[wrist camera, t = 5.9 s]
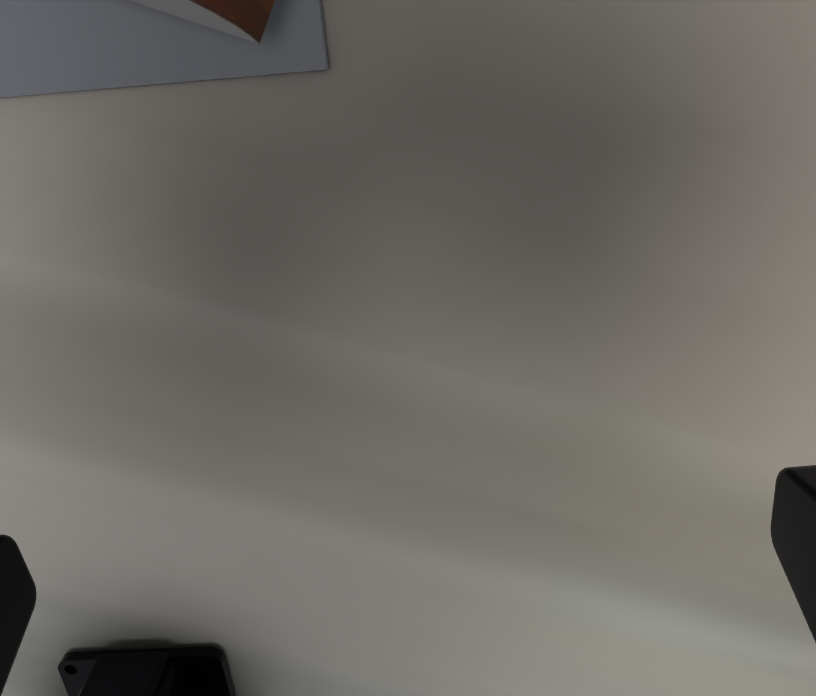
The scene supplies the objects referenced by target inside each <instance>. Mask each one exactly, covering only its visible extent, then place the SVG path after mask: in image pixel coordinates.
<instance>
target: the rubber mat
mask: <svg viewBox="0 0 816 696" xmlns="http://www.w3.org/2000/svg"><path fill="white" fill-rule="evenodd" d="M327 69H329V64H328V56H327V47H326V39H325V30H324V22H323V13H322V5H321V0H275V2H274V5H273V8H272V10H271V13H270V16H269V19H268V22H267V25H266V27H265V30H264V33H263V36H262V39H261V41H260V44H258V43H255V42H252V41H249V40H246V39H243V38H240V37H237V36H234V35H231V34H228V33H225V32H222V31H219V30H216V29H213V28H210V27H207V26H204V25H201V24H198V23H195V22H192V21H189V20H186V19H183V18H180V17H177V16H174V15H171V14H168V13H165V12H162V11H159V10H156V9H153V8H150V7H147V6H144V5H141V4H138V3H135V2H133V1H130V0H0V98H1V97H13V96H25V95H37V94H48V93H60V92H72V91H83V90H95V89H107V88H118V87H130V86H142V85H154V84H165V83H177V82H189V81H200V80H212V79H224V78H235V77H247V76H259V75H271V74H282V73H294V72H306V71H317V70H327Z"/></svg>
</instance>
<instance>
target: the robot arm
mask: <svg viewBox="0 0 816 696" xmlns="http://www.w3.org/2000/svg"><path fill="white" fill-rule="evenodd" d="M771 537H772V542H773V546H774V548H775V551H776V553H777V556H778V558H779V560H780V562H781V565H782V567H783V569H784V572H785V574H786V576H787V578H788V581H789V583H790V585H791V588H792V590H793V592H794V594H795V597H796V599H797V601H798V604H799V606H800V608H801V610H802V613H803V615H804V617H805V619H806V622H807V624H808V626H809V629H810V631H811V633H812V635H813V638H814V640H815V642H816V465H811V466H799V467H788V468H784V469H783V470H781V471H780V472H779V474H778V476H777V479H776V486H775V494H774V502H773V511H772V519H771ZM35 602H36V587H35V583H34V581H33V579H32V576H31V574H30V572H29V570H28V568H27V565H26V563H25V561H24V559H23V557H22V554H21V552H20V550H19V548H18V546H17V544H16V542H15V541H14V540H13V539H12V538H11V537H10V536H7V535H0V696H1V694H2V692H3V689H4V686H5V684H6V681H7V678H8V676H9V673H10V671H11V668H12V665H13V663H14V660H15V657H16V655H17V652H18V649H19V647H20V644H21V641H22V639H23V636H24V634H25V631H26V628H27V626H28V623H29V620H30V618H31V615H32V612H33V610H34V607H35ZM210 660H211V661H210ZM58 670H59V673H60V675H61V678H62V680H63V683H64V685H65V688H66V690H67V692H68V695H69V696H235V692H234V688H233V685H232V681H231V677H230V673H229V670H228V666H227V662H226V658H225V655H224V653H223V652H222V651H221V650H220V649H217V648H215V647H195V648H169V649H142V650H116V651H90V652H70V653H67V654H65V655H64V657H63V658H62V660H61V662H60V664H59V666H58Z"/></svg>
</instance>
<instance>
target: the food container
mask: <svg viewBox="0 0 816 696" xmlns="http://www.w3.org/2000/svg"><path fill="white" fill-rule="evenodd" d="M130 1H133V2H135V3H138V4H141V5H144V6H147V7H150V8H153V9H156V10H159V11H162V12H165V13H168V14H171V15H174V16H177V17H180V18H183V19H186V20H189V21H192V22H195V23H198V24H201V25H204V26H207V27H210V28H213V29H216V30H219V31H222V32H225V33H228V34H231V35H234V36H237V37H240V38H243V39H246V40H249V41H252V42H255V43H258V44H260V41H261V39H262V36H263V33H264V30H265V27H266V25H267V22H268V19H269V16H270V13H271V10H272V8H273V5H274V2H275V0H130Z"/></svg>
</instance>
